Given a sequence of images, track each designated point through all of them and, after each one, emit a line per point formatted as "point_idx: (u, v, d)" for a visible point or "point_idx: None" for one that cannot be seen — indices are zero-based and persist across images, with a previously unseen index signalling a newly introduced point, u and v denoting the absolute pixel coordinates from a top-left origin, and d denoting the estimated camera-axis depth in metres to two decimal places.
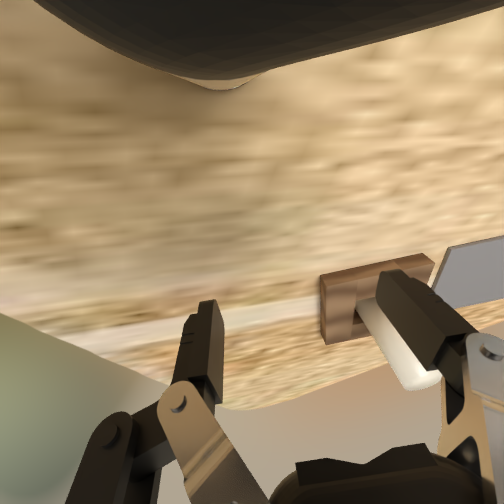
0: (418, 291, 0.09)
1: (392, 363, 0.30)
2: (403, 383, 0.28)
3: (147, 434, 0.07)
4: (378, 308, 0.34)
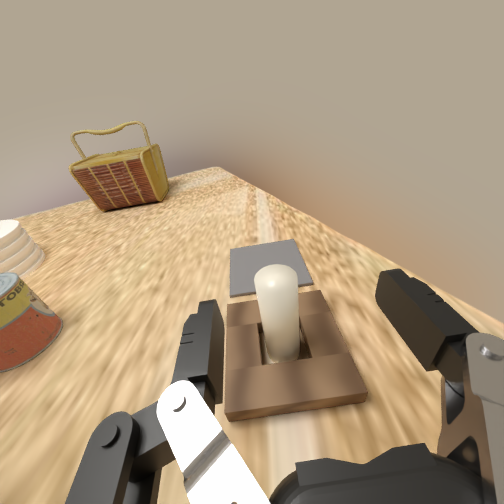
0: (418, 291, 0.09)
1: (277, 310, 0.24)
2: (278, 294, 0.23)
3: (147, 434, 0.07)
4: (264, 336, 0.30)
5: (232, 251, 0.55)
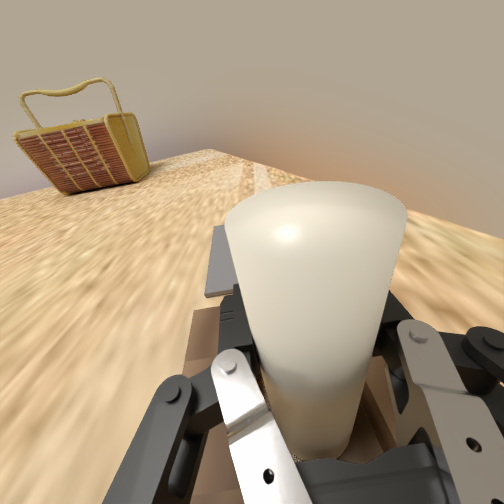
0: None
1: (320, 338, 0.06)
2: (338, 266, 0.04)
3: (202, 403, 0.07)
4: (267, 395, 0.12)
5: (216, 228, 0.36)
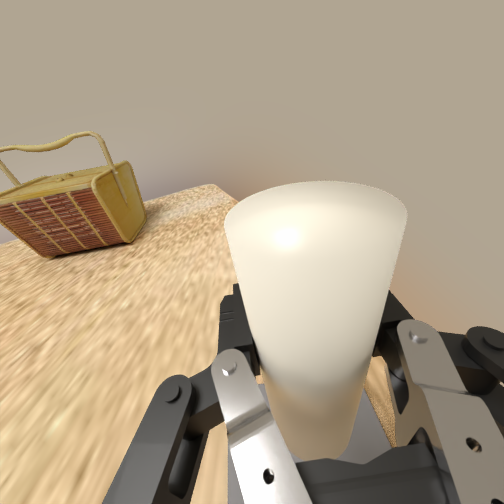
0: None
1: (319, 338, 0.06)
2: (338, 265, 0.04)
3: (202, 403, 0.07)
4: (267, 395, 0.12)
5: None
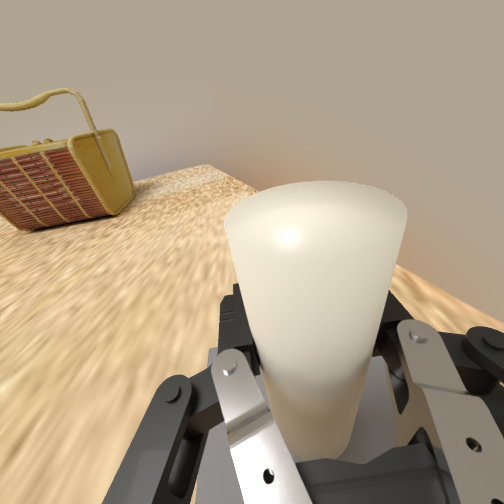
0: None
1: (320, 338, 0.06)
2: (338, 265, 0.04)
3: (202, 403, 0.07)
4: (267, 395, 0.12)
5: (212, 357, 0.22)
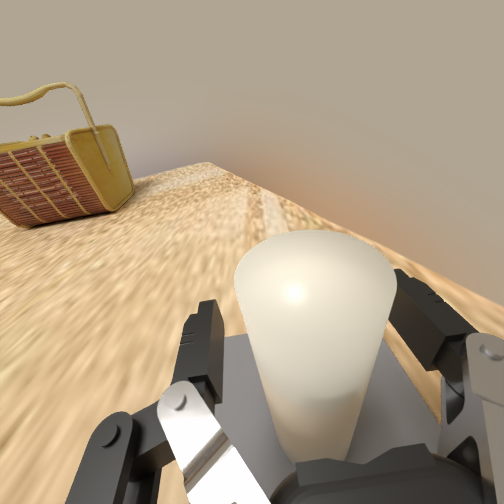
0: (418, 291, 0.09)
1: (320, 387, 0.07)
2: (335, 340, 0.05)
3: (147, 434, 0.07)
4: None
5: None
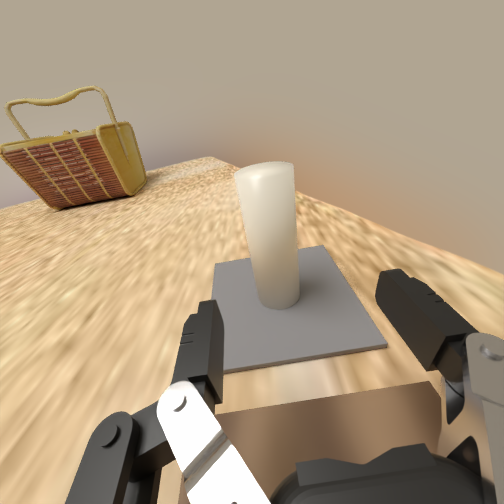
0: (418, 291, 0.09)
1: (266, 212, 0.17)
2: (267, 181, 0.16)
3: (147, 434, 0.07)
4: (253, 271, 0.23)
5: (217, 267, 0.32)
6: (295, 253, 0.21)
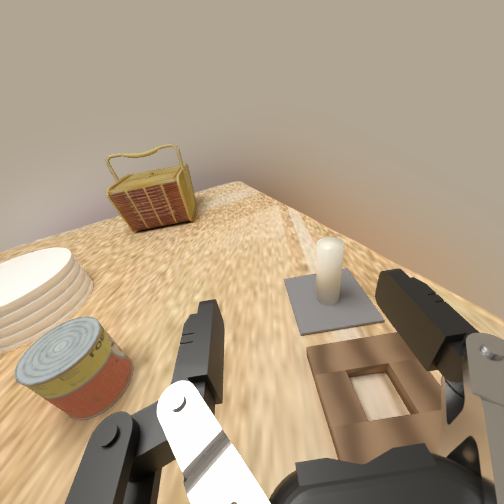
0: (418, 291, 0.09)
1: (332, 262, 0.40)
2: (335, 251, 0.39)
3: (147, 434, 0.07)
4: (317, 286, 0.46)
5: (286, 281, 0.55)
6: (340, 278, 0.44)
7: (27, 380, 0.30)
